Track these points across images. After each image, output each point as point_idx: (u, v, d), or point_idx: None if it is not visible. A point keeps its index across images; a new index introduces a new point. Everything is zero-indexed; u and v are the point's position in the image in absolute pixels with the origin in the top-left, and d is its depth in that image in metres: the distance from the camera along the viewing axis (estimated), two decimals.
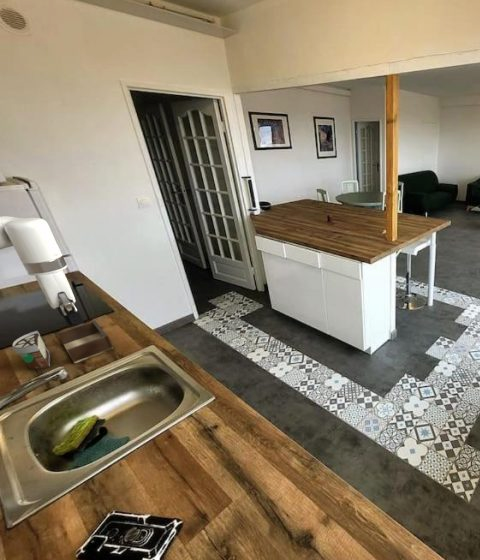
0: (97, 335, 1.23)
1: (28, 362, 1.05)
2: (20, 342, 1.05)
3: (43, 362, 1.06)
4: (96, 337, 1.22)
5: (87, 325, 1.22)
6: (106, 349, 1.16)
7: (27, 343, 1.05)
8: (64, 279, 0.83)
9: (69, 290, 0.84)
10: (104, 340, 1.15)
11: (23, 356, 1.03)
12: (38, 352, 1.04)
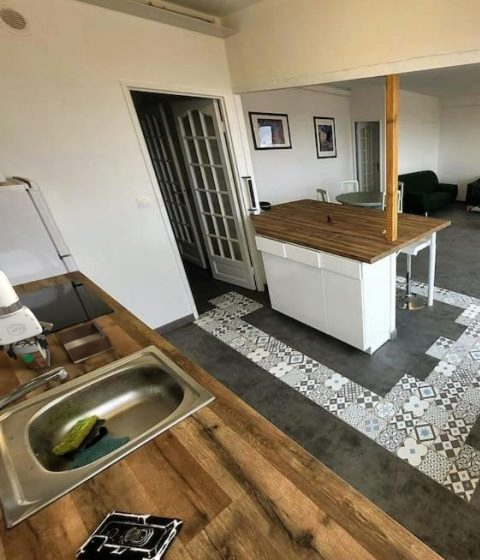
0: (97, 335, 1.23)
1: (28, 362, 1.05)
2: (20, 342, 1.05)
3: (43, 362, 1.06)
4: (96, 337, 1.22)
5: (87, 325, 1.22)
6: (106, 349, 1.16)
7: (27, 343, 1.05)
8: None
9: None
10: (104, 340, 1.15)
11: (23, 356, 1.03)
12: (38, 352, 1.04)
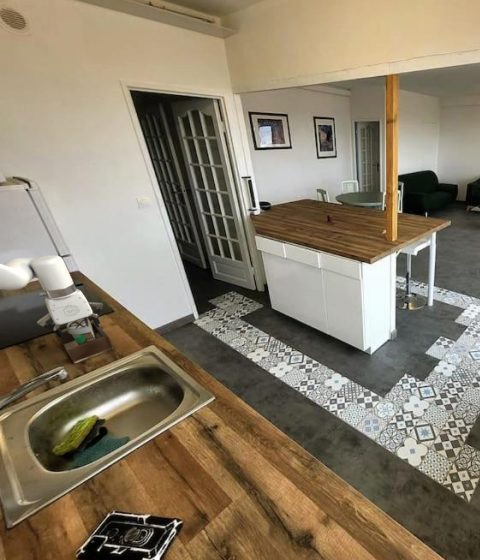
0: (97, 335, 1.23)
1: (80, 342, 1.14)
2: (73, 324, 1.14)
3: None
4: None
5: None
6: (106, 349, 1.16)
7: (79, 325, 1.14)
8: None
9: None
10: (104, 340, 1.15)
11: (76, 337, 1.12)
12: (90, 333, 1.13)
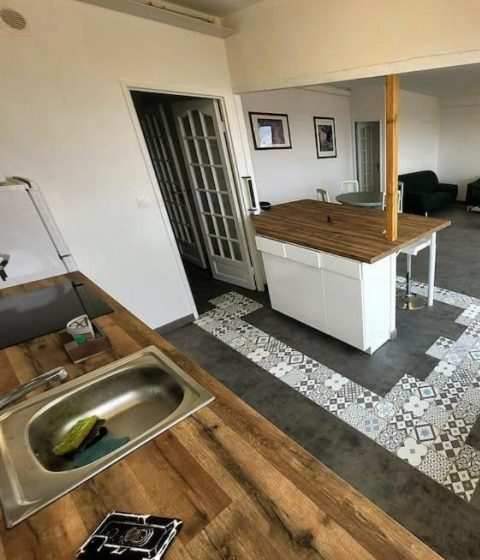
0: (97, 335, 1.23)
1: (80, 342, 1.14)
2: (73, 324, 1.14)
3: None
4: None
5: None
6: (106, 349, 1.16)
7: (79, 325, 1.14)
8: None
9: None
10: (104, 340, 1.15)
11: (76, 337, 1.12)
12: (90, 333, 1.13)
